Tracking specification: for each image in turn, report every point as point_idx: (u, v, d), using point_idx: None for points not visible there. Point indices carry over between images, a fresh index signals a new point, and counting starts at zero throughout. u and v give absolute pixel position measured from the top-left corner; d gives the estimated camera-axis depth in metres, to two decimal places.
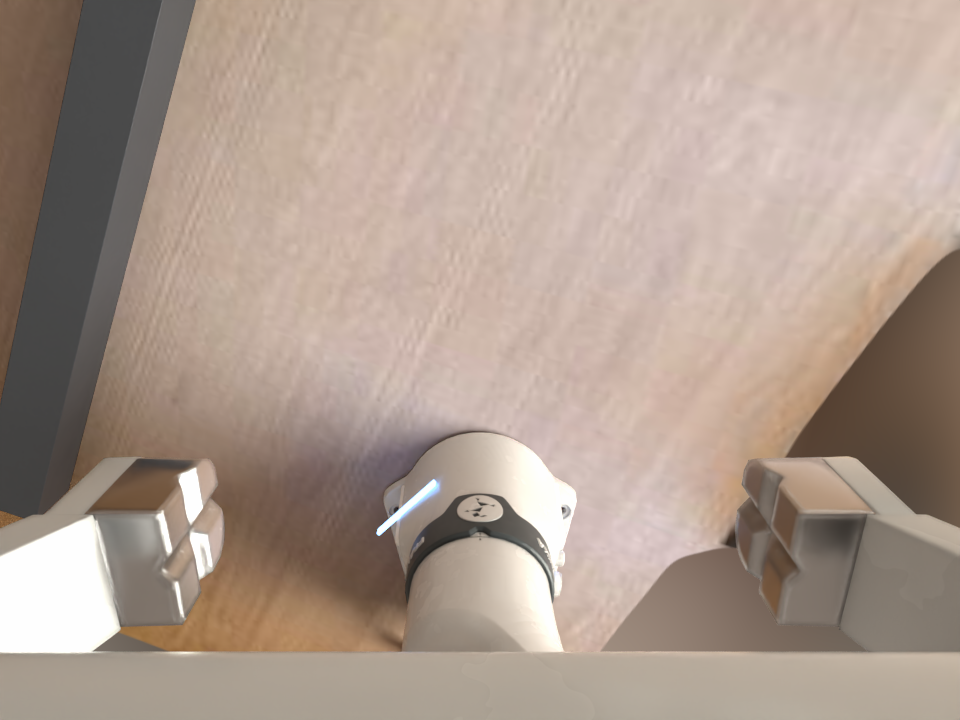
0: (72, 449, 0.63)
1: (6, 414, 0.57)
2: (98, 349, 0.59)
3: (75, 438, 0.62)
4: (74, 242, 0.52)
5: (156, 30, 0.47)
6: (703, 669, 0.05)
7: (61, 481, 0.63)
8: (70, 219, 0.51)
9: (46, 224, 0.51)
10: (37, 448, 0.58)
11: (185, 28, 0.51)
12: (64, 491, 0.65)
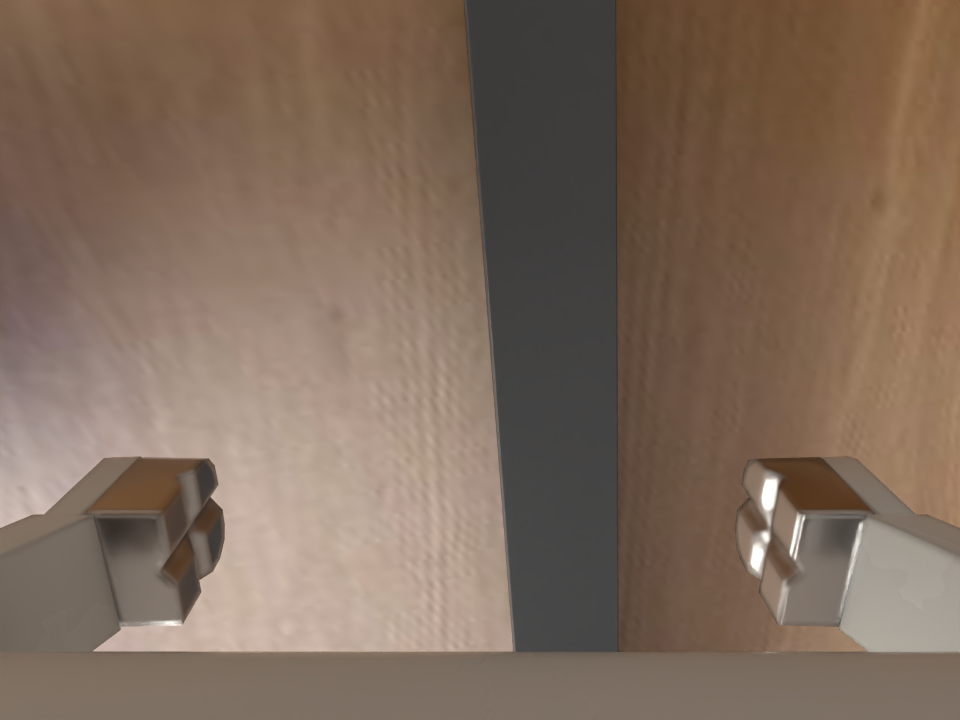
0: (473, 126, 0.27)
1: (599, 235, 0.25)
2: (492, 374, 0.31)
3: None
4: (555, 606, 0.31)
5: None
6: (703, 669, 0.05)
7: (466, 32, 0.25)
8: (570, 632, 0.32)
9: (604, 611, 0.31)
10: (513, 181, 0.24)
11: None
12: None
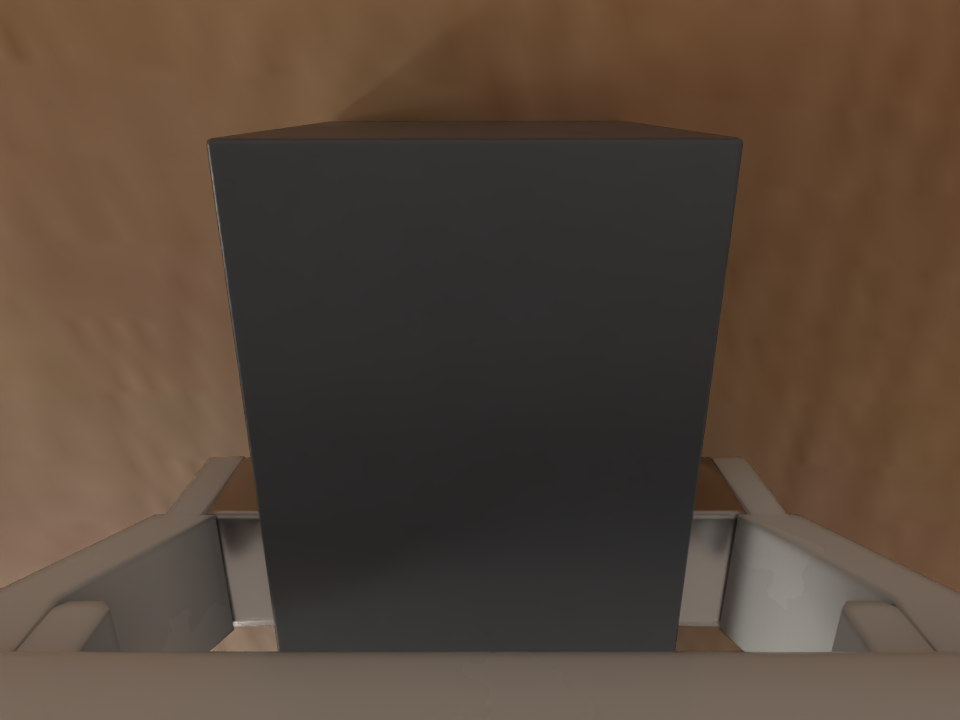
0: None
1: None
2: None
3: None
4: None
5: None
6: (703, 669, 0.05)
7: None
8: None
9: None
10: None
11: None
12: None
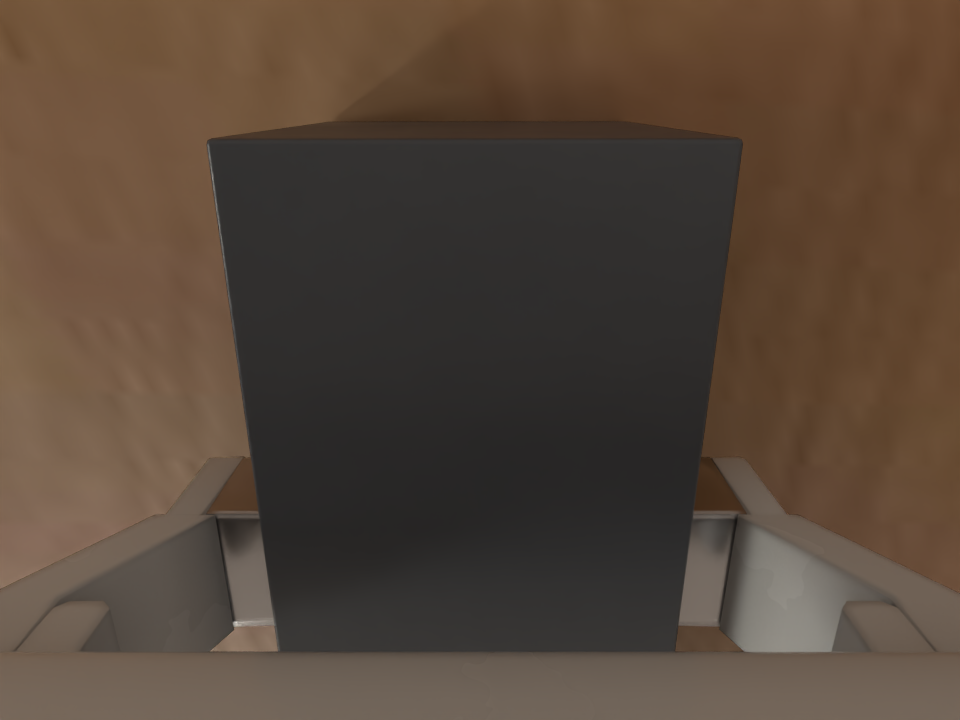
0: None
1: None
2: None
3: None
4: None
5: None
6: (703, 669, 0.05)
7: None
8: None
9: None
10: None
11: None
12: None
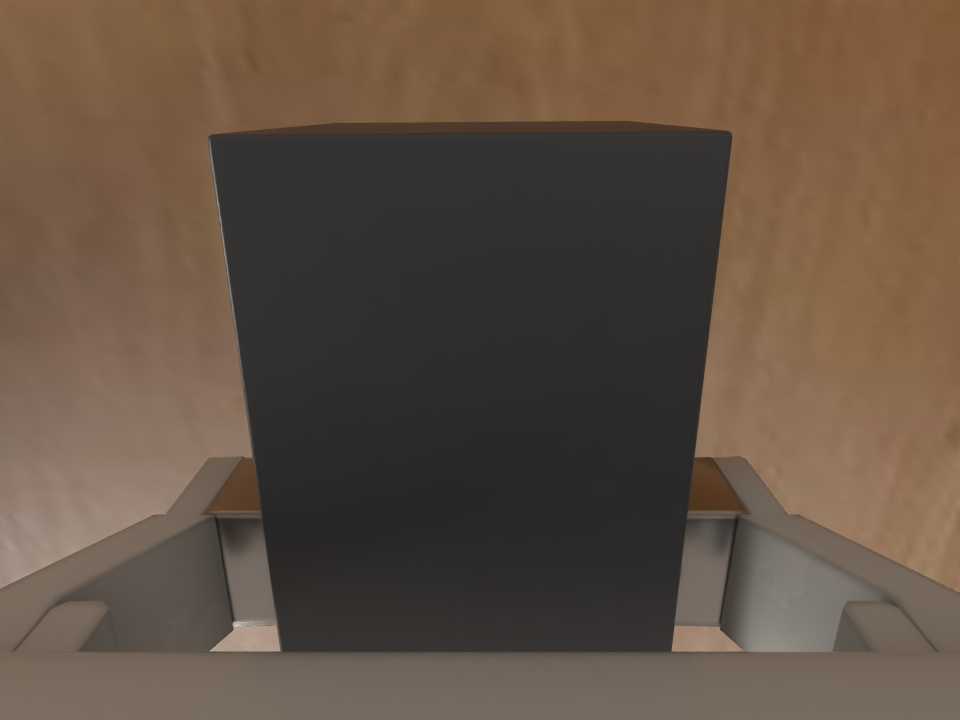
0: None
1: None
2: None
3: None
4: None
5: None
6: (703, 669, 0.05)
7: None
8: None
9: None
10: None
11: None
12: None
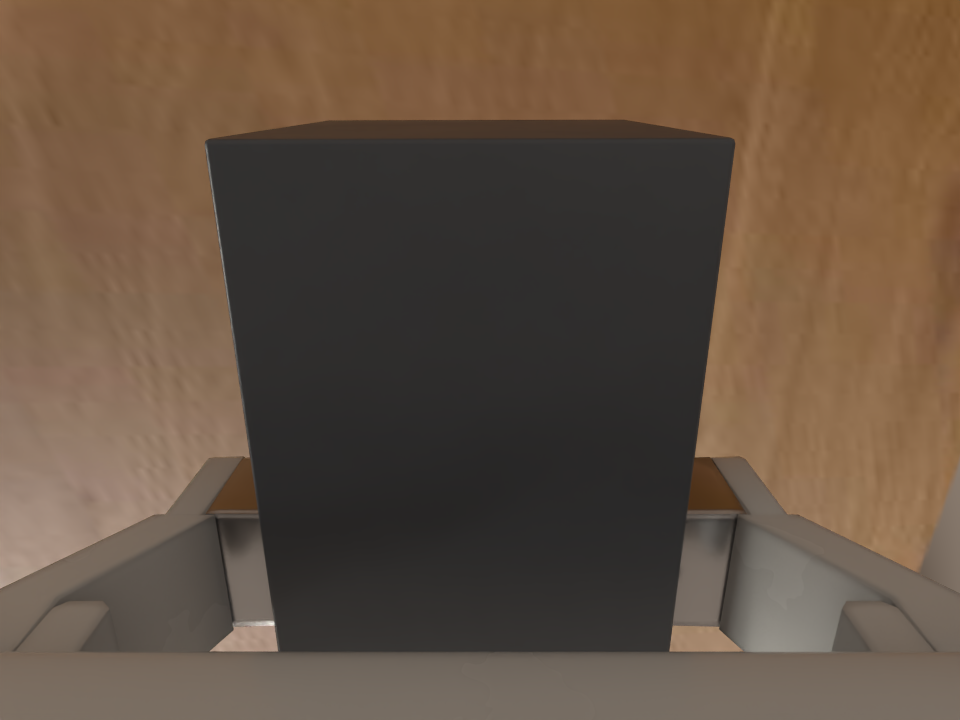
0: None
1: None
2: None
3: None
4: None
5: None
6: (703, 669, 0.05)
7: None
8: None
9: None
10: None
11: None
12: None
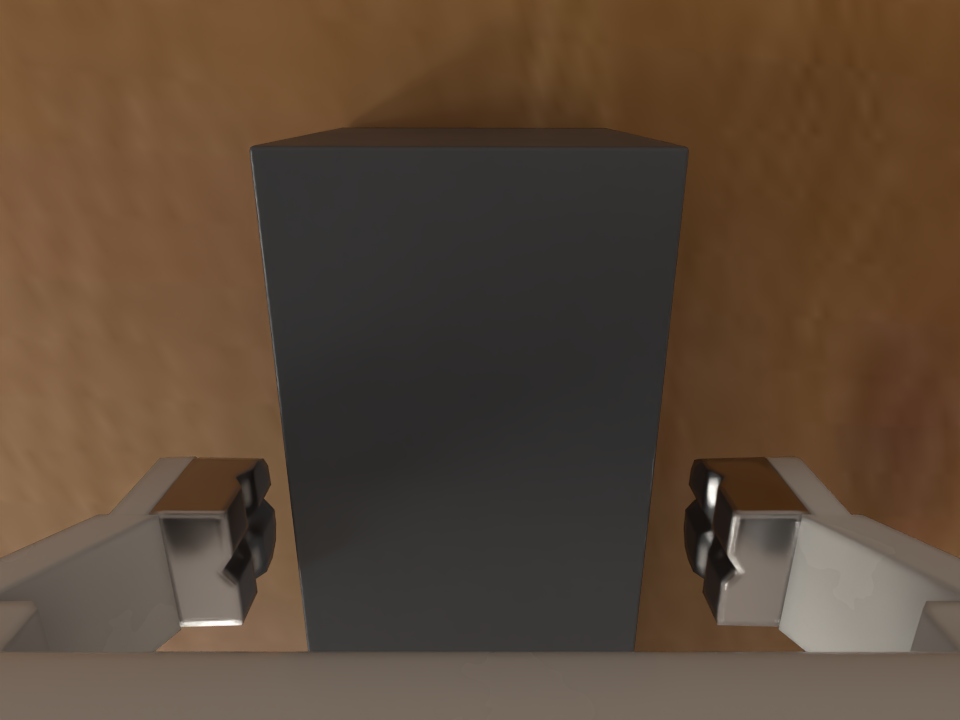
0: None
1: None
2: None
3: None
4: None
5: None
6: (703, 669, 0.05)
7: None
8: None
9: None
10: None
11: None
12: None
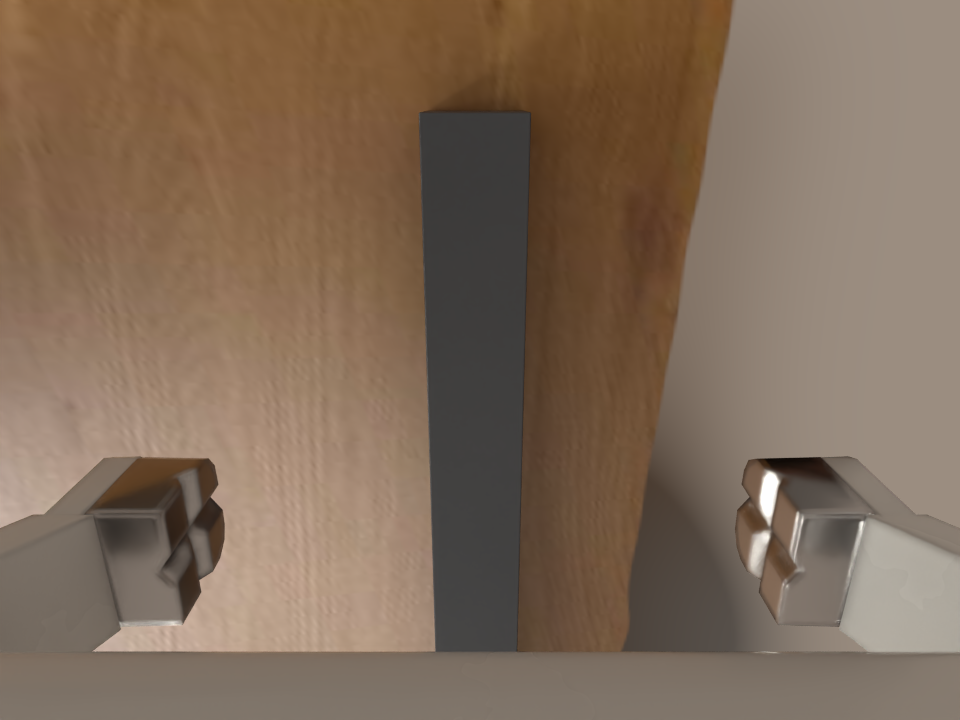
0: None
1: (511, 327, 0.33)
2: None
3: None
4: (468, 603, 0.39)
5: None
6: (703, 669, 0.05)
7: None
8: (479, 625, 0.40)
9: (506, 610, 0.40)
10: (449, 283, 0.32)
11: None
12: None
